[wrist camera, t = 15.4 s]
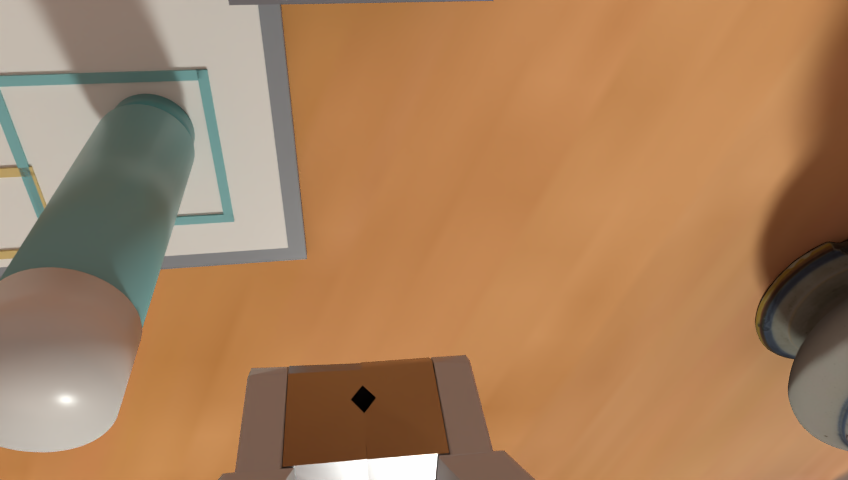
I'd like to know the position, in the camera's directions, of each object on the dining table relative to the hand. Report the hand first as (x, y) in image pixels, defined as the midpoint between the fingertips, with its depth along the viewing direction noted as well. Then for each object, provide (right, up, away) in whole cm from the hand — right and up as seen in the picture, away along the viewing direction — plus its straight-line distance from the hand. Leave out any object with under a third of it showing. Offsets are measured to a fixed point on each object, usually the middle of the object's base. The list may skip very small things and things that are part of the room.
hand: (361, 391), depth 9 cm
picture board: (-14, +7, +17) cm, 22 cm away
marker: (-10, +7, +17) cm, 20 cm away
